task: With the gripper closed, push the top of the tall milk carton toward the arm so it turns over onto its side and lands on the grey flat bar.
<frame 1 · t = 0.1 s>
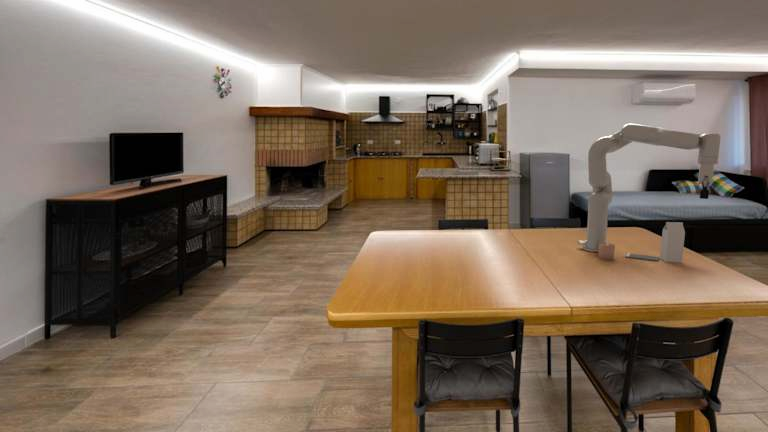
hand: (703, 197, 210), 31 cm above the table, fingers open, 9 cm apart
tan block: (606, 258, 223), on the table
grey flat bar: (642, 257, 224), on the table
milk carton: (670, 261, 218), on the table
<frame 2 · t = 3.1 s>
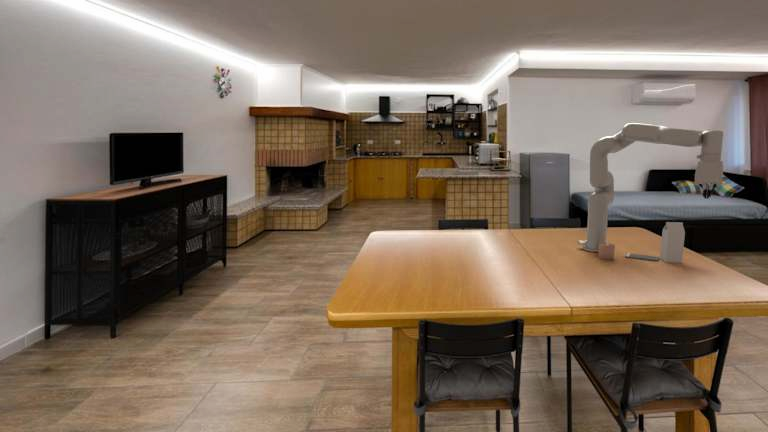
hand: (706, 198, 206), 31 cm above the table, fingers closed
nothing on the table moved.
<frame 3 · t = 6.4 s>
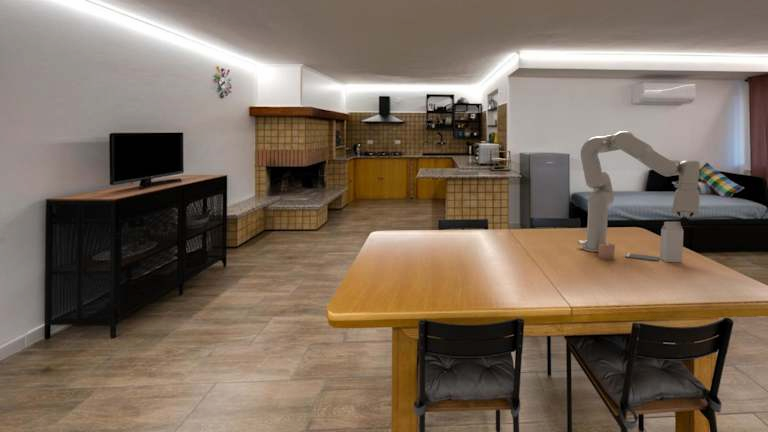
hand: (684, 225, 212), 18 cm above the table, fingers closed
milk carton: (670, 260, 218), on the table, touching gripper
everything else where it was.
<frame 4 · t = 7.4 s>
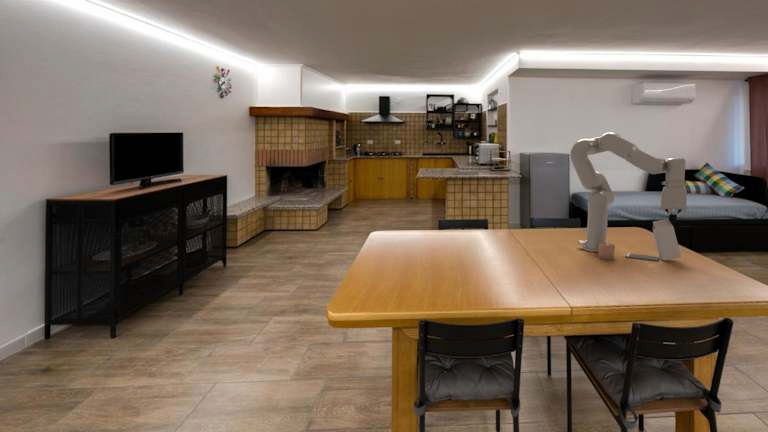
hand: (672, 222, 215), 19 cm above the table, fingers closed
milk carton: (670, 258, 217), point 1 cm above the table, touching gripper
everything else where it was.
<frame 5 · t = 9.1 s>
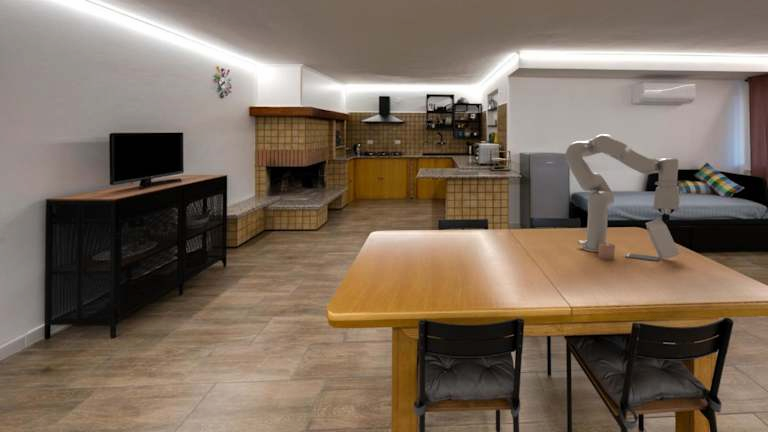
hand: (665, 222, 217), 19 cm above the table, fingers closed
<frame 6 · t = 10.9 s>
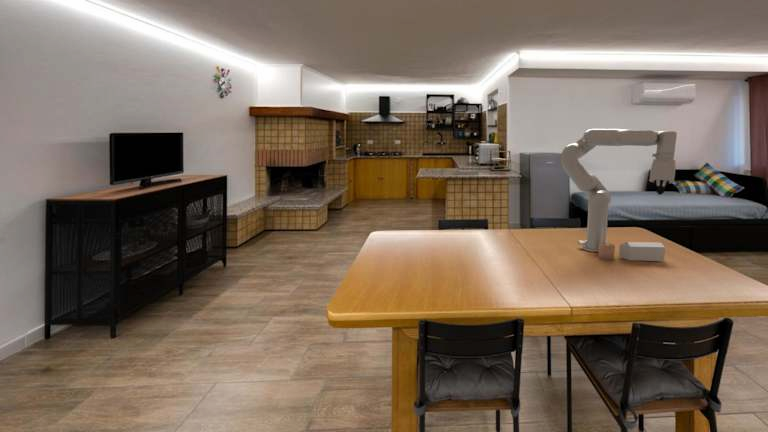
hand: (660, 194, 221), 32 cm above the table, fingers closed
milk carton: (663, 251, 217), point 4 cm above the table, touching grey flat bar
everything else where it was.
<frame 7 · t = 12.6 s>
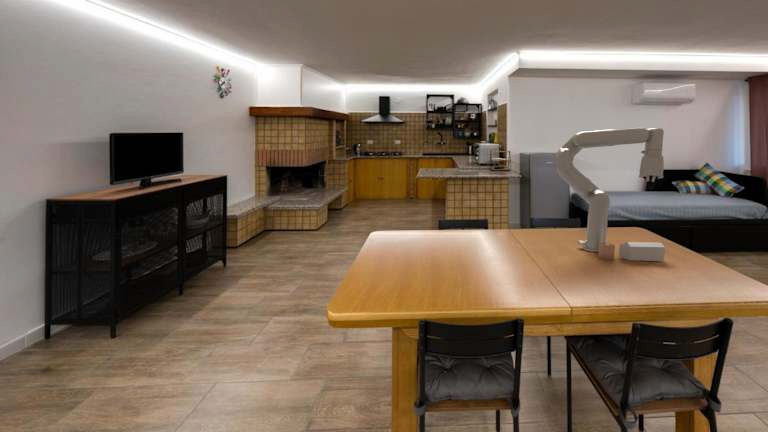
hand: (649, 189, 229), 33 cm above the table, fingers closed
nothing on the table moved.
at the end: milk carton tilted 92°; milk carton inside the target area (2.5 cm from its centre), point 4.5 cm above the table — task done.
